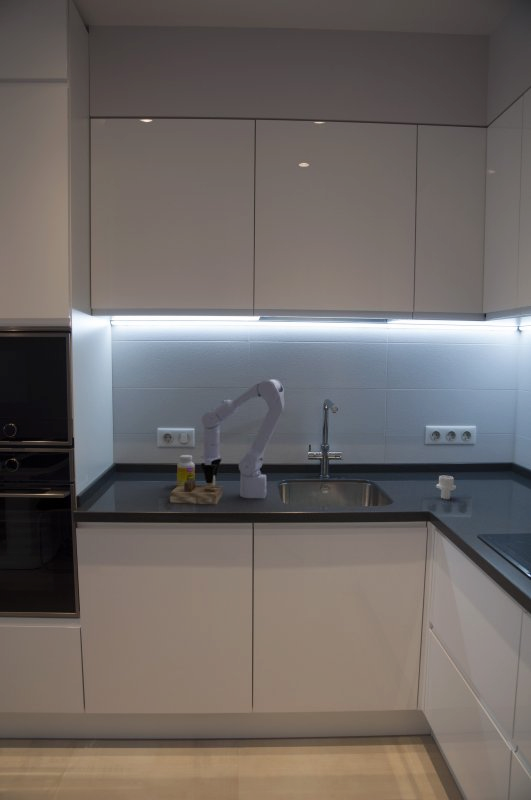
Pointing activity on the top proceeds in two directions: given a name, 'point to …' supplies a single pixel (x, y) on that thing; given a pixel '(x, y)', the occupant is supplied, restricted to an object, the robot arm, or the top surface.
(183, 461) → the supplement bottle
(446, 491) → the pipe fitting
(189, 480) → the lid
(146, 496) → the top surface
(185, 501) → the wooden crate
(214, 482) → the pin
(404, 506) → the top surface
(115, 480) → the top surface
